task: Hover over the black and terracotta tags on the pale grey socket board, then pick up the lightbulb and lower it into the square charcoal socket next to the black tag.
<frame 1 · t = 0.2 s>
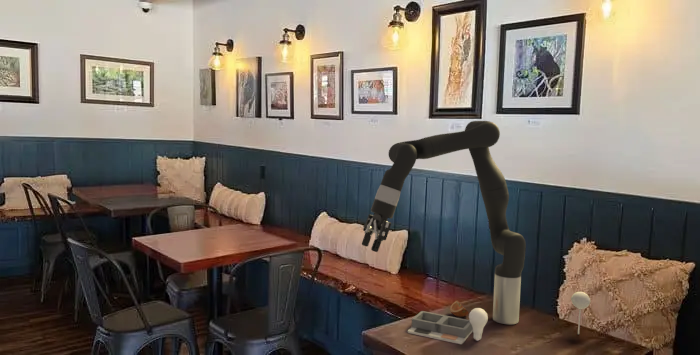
hand: (369, 248, 177), 31 cm above the table, tool tilted 20°, fingers open, 8 cm apart
lightbulb: (477, 341, 181), on the table
fruit slice: (459, 317, 204), on the table
socket board: (440, 332, 188), on the table
lollipop: (578, 334, 189), on the table
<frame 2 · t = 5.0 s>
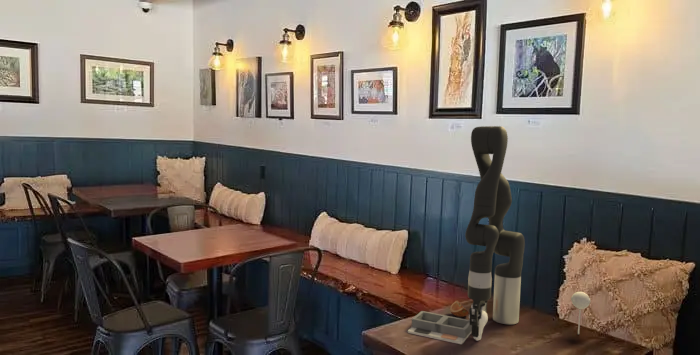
hand: (477, 333, 181), 3 cm above the table, tool pointing down, fingers closed on lightbulb, 5 cm apart
lightbulb: (477, 341, 181), on the table, touching gripper
everything else where it was.
when the fingers open (5 cm above the table, at t = 10.0 s): lightbulb drops 2 cm, resting on socket board.
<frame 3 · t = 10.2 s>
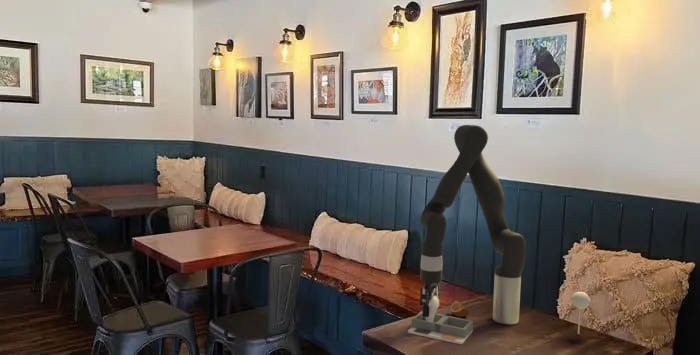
hand: (429, 312, 191), 5 cm above the table, tool pointing down, fingers open, 7 cm apart
lightbulb: (429, 325, 192), point 1 cm above the table, touching socket board
everything else where it was.
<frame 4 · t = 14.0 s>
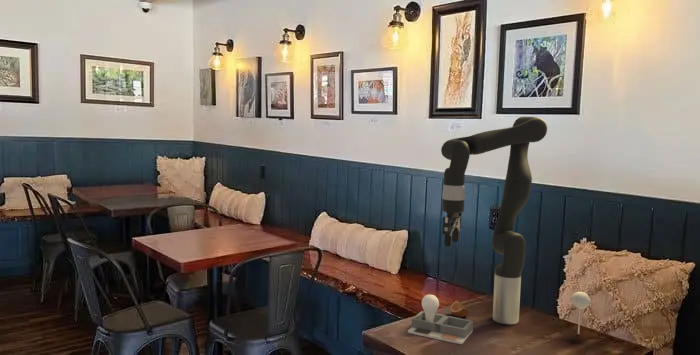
hand: (451, 244, 189), 30 cm above the table, tool pointing down, fingers open, 8 cm apart
nothing on the table moved.
at the end: lightbulb 0.4 cm from the target spot on the socket board, point 0.6 cm above the socket board's base; lightbulb tilted 0°; the gripper is holding nothing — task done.
